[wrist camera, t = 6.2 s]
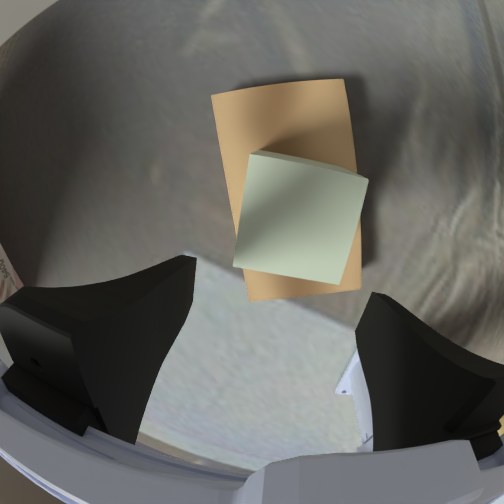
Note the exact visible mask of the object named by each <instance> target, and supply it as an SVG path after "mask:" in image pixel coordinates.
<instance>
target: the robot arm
mask: <svg viewBox="0 0 504 504" xmlns="http://www.w3.org/2000/svg"><path fill="white" fill-rule="evenodd" d="M196 261H197V258H195V257H190V256H185V255H180V256H177V257H174V258H172V259H169V260H167V261H164V262H162V263H160V264H157V265H155V266H153V267H150V268H148V269H145V270H142V271H139V272H137V273H134V274H131V275H128V276H125V277H122V278H118V279H114V280H110V281H106V282H101V283H95V284H89V285H83V286H74V287H58V288H45V287H25V286H23V287H21V288H20V289H19V290H18V291H16V292H15V293H14V294H12V295H11V296H10V297H9V298H7V299H6V300H5V301H4V302H2V303H1V304H0V332H1V335H2V337H3V340H4V342H5V345H6V347H7V349H8V351H9V354H10V356H11V358H12V360H13V362H14V363H13V365H12V366H11V367H10V368H9V369H8V367H7V366H6V365H5V364H4V362H2V361H1V360H0V456H1V457H3V458H4V459H5V460H6V461H7V462H9V463H10V464H11V465H12V466H13V467H14V468H16V469H17V470H18V471H20V472H21V473H22V474H23V475H25V476H26V477H27V478H29V479H30V480H32V481H33V482H34V483H36V484H37V485H39V486H40V487H42V488H43V489H44V490H46V491H47V492H49V493H50V494H52V495H53V496H55V497H57V498H59V499H60V500H62V501H63V502H65V503H67V504H490V503H492V502H494V501H496V500H497V499H499V498H500V497H501V496H503V495H504V434H502V435H501V436H499V433H498V430H499V429H500V428H501V426H502V425H501V423H500V421H499V420H500V419H501V418H502V417H503V415H504V365H503V364H499V363H496V362H493V361H491V360H488V359H486V358H483V357H481V356H478V355H476V354H474V353H472V352H470V351H468V350H466V349H464V348H462V347H460V346H458V345H457V344H455V343H453V342H452V341H450V340H448V339H447V338H445V337H443V336H442V335H440V334H439V333H437V332H436V331H435V330H433V329H432V328H431V327H429V326H428V325H426V324H425V323H424V322H422V321H421V320H420V319H419V318H417V317H416V316H415V315H413V314H412V313H411V312H410V311H408V310H407V309H406V308H404V307H403V306H402V305H401V304H399V303H398V302H396V301H395V300H394V299H392V298H391V297H389V296H387V295H385V294H381V293H375V292H372V293H371V296H370V298H369V301H368V303H367V305H366V308H365V310H364V312H363V315H362V317H361V319H360V321H359V324H358V326H357V328H356V330H355V335H356V344H357V349H356V351H355V353H354V355H353V357H352V359H351V361H350V363H349V365H348V367H347V368H346V370H345V372H344V374H343V376H342V378H341V380H340V381H339V383H338V385H337V387H336V388H335V393H336V394H344V395H352V396H353V400H354V405H355V410H356V415H357V420H358V426H359V431H360V436H361V442H362V446H360V447H357V448H356V452H357V453H332V454H321V455H307V456H298V457H294V458H290V459H286V460H281V461H277V462H272V463H270V464H268V465H266V466H265V467H263V468H262V469H260V470H258V471H257V472H255V473H253V474H249V473H242V472H236V471H229V470H224V469H218V468H213V467H209V466H204V465H199V464H195V463H191V462H187V461H183V460H179V459H176V458H172V457H169V456H165V455H162V454H159V453H156V452H152V451H150V450H146V449H144V448H141V447H138V446H135V442H136V439H137V435H138V431H139V428H140V424H141V421H142V418H143V415H144V411H145V408H146V405H147V402H148V399H149V397H150V394H151V391H152V388H153V385H154V383H155V380H156V378H157V375H158V372H159V370H160V367H161V365H162V363H163V361H164V359H165V357H166V356H167V354H168V352H169V350H170V348H171V346H172V345H173V343H174V341H175V339H176V337H177V336H178V334H179V332H180V330H181V328H182V326H183V325H184V323H185V321H186V318H187V316H188V313H189V311H190V308H191V305H192V302H193V293H194V282H195V271H196Z"/></svg>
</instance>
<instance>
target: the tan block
mask: <svg viewBox="0 0 504 504" xmlns="http://www.w3.org/2000/svg"><path fill="white" fill-rule="evenodd" d="M211 99H212V104H213V110H214V116H215V121H216V127H217V133H218V138H219V144H220V149H221V155H222V160H223V166H224V171H225V177H226V182H227V188H228V193H229V198H230V204H231V209H232V214H233V220H234V225H235V230H236V236H237V233H238V226H239V219H240V213H241V206H242V199H243V193H244V186H245V180H246V174H247V167H248V161H249V155H250V154H251V153H253V152H255V151H257V150H262V151H268V152H274V153H280V154H285V155H290V156H295V157H300V158H305V159H310V160H315V161H319V162H324V163H328V164H332V165H336V166H341V167H343V168H345V169H347V170H350V171H352V172H354V173H356V174H357V167H356V157H355V148H354V140H353V133H352V126H351V119H350V113H349V107H348V101H347V95H346V90H345V85H344V80H343V79H326V80H311V81H299V82H289V83H280V84H272V85H265V86H258V87H252V88H246V89H241V90H235V91H230V92H225V93H220V94H216V95H211ZM243 272H244V277H245V282H246V287H247V292H248V297H249V302H252V301H263V300H273V299H283V298H292V297H301V296H309V295H318V294H326V293H334V292H341V291H348V290H356V289H361V223H360V217H359V221H358V225H357V228H356V232H355V236H354V239H353V243H352V246H351V249H350V253H349V256H348V259H347V262H346V266H345V269H344V272H343V275H342V278H341V281H340V284H339V285H336V284H330V283H324V282H318V281H312V280H307V279H301V278H295V277H289V276H284V275H278V274H272V273H267V272H261V271H255V270H250V269H244V268H243Z"/></svg>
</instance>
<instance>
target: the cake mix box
mask: <svg viewBox="0 0 504 504" xmlns="http://www.w3.org/2000/svg"><path fill="white" fill-rule="evenodd" d="M23 286H24V285H23V283H22V282H21V280H20V278H19V277H18V275H17V273H16V272H15V270H14V268H13V266H12V264H11V263H10V261H9V259H8V257H7V255H6V253H5V251H4V249H3V247H2V246H1V244H0V304H1V303H2V302H4V301H5V300H6V299H7V298H9V297H10V296H11V295H12V294H14V293H15V292H16V291H18V290H19V289H20V288H21V287H23Z"/></svg>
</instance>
